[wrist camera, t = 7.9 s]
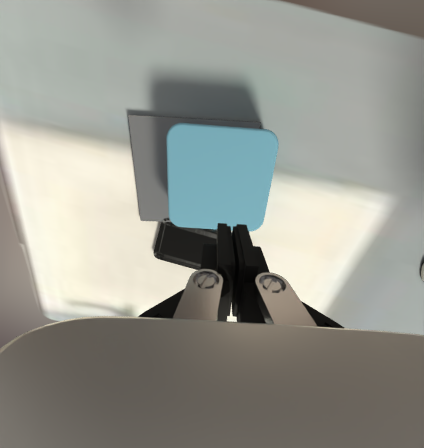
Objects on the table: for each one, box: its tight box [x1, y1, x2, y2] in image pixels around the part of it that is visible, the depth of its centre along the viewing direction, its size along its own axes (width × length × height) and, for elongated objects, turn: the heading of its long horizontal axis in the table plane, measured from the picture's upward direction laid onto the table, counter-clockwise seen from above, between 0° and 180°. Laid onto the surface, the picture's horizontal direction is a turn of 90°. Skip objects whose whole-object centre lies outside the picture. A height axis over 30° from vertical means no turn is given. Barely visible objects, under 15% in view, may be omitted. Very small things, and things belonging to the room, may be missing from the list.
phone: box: [154, 218, 217, 270], centre depth 33 cm, size 8×1×15 cm
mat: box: [128, 115, 261, 222], centre depth 27 cm, size 16×14×1 cm
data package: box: [166, 123, 278, 231], centre depth 25 cm, size 12×4×12 cm
